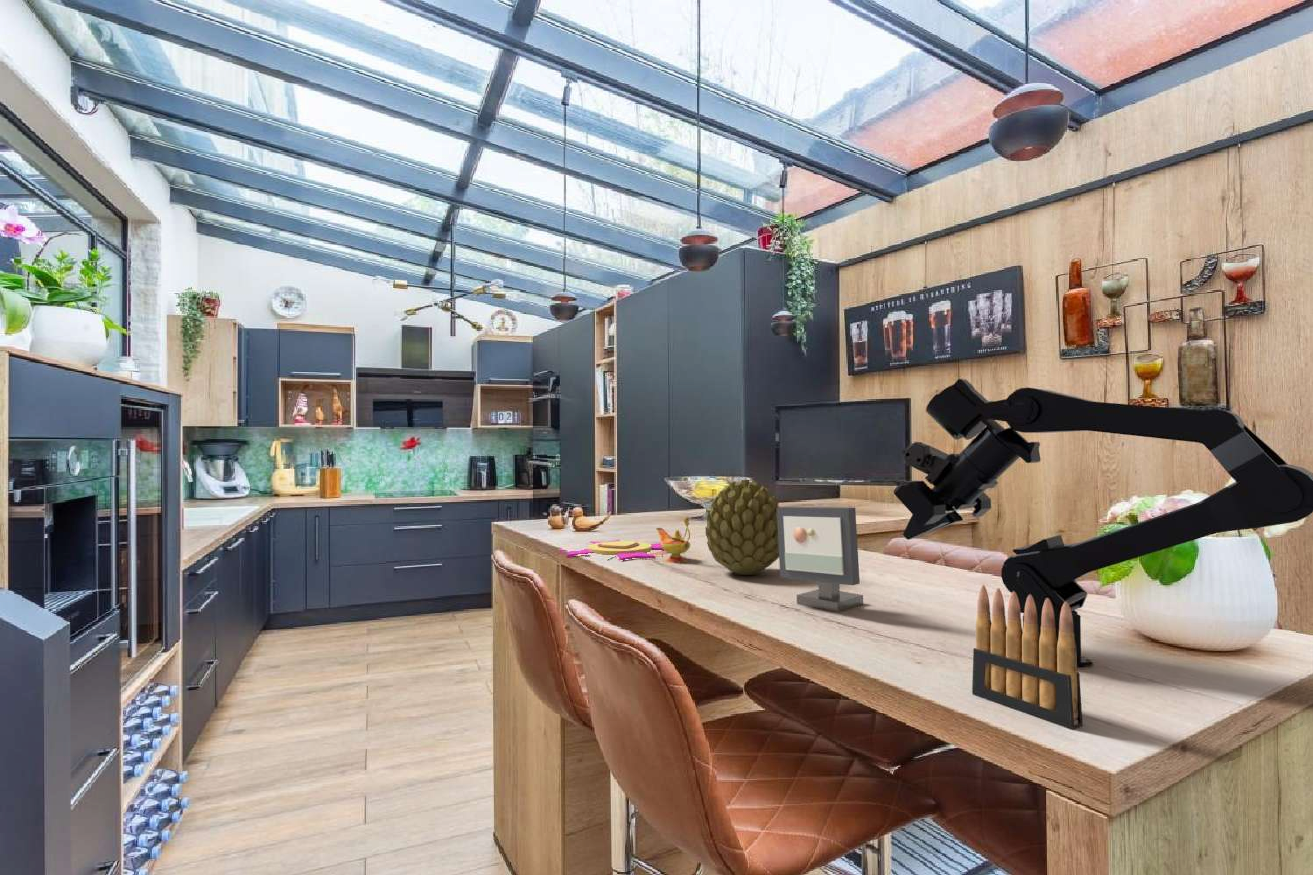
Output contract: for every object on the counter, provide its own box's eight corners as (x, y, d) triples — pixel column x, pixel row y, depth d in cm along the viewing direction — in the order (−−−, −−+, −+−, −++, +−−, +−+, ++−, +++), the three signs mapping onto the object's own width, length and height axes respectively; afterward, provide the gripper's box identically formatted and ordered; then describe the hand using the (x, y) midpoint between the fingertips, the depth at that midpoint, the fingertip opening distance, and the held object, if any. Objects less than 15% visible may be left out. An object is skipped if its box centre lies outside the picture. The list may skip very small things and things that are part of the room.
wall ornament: (576, 556, 154) (551, 539, 183) (576, 566, 154) (551, 548, 183) (695, 548, 165) (654, 533, 193) (695, 557, 165) (654, 541, 193)
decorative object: (765, 565, 152) (764, 477, 152) (800, 579, 136) (799, 481, 136) (695, 569, 147) (694, 478, 148) (722, 584, 131) (721, 482, 131)
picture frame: (859, 583, 106) (855, 507, 106) (851, 585, 104) (846, 508, 104) (787, 575, 116) (783, 506, 116) (778, 577, 114) (774, 507, 115)
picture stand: (863, 603, 114) (862, 522, 115) (836, 612, 109) (835, 526, 109) (823, 596, 120) (822, 518, 120) (796, 603, 115) (795, 522, 115)
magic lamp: (669, 553, 170) (669, 509, 170) (703, 564, 153) (702, 516, 153) (644, 555, 167) (644, 511, 167) (676, 567, 150) (676, 518, 151)
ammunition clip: (971, 694, 73) (970, 584, 73) (982, 691, 74) (980, 582, 74) (1072, 730, 64) (1070, 604, 64) (1083, 726, 65) (1081, 602, 65)
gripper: (968, 424, 102) (902, 494, 110) (906, 421, 89) (836, 499, 97) (1025, 477, 95) (950, 547, 103) (966, 481, 83) (886, 560, 91)
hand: (906, 537), depth 99 cm, fingers closed
